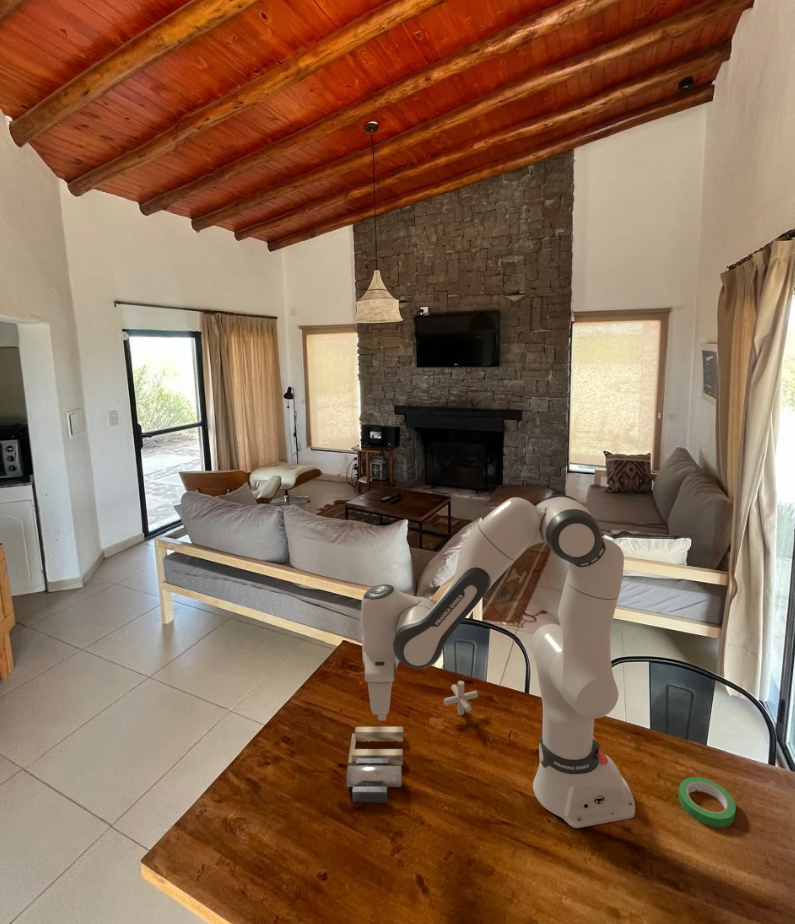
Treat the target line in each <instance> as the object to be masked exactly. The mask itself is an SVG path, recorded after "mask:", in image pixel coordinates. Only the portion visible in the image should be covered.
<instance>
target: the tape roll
mask: <svg viewBox="0 0 795 924" xmlns="http://www.w3.org/2000/svg"><path fill="white" fill-rule="evenodd" d="M694 792H700V793H701V792H702V793H705V794H708V795H710V796H713V798H715V799H716V800H718V801H719V803H720V804H721V805H722V806H723V808H724V809H723V810H722V811H711V810H708V809H706V808H703V807H701V806H699V805H698V804H697V803H696V802H695V801H693V800H692V798H691V797H690V793H694ZM678 800H679V803H680V805H681V807H682V809H684V811H685V812H686V813H687V814H688V815H690V816H691V818H693V819H694V820H696V821H698V822H699V823H701V824H704V825H706V826H709V827H713V828H725V827H729V826H731V825H732V824H733V823H734V821H735V817H736V810H737V806H736V802H735V800H734V799H733V796H731V794H730V793H729V792H728V791H727V790H726V789H725V788H724V787H722V786H721V785H720V784H718V783H716V782H714V781H712V780H710V779H707V778H704V777H697V776H693V777H691V776H690V777H688V778H685V779H683V780H682V781H681V782H680V785H679V790H678Z"/></svg>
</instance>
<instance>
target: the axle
mask: <svg viewBox="0 0 795 924" xmlns="http://www.w3.org/2000/svg"><path fill="white" fill-rule="evenodd" d="M346 769H347V770H346V787H347V788H348V787H350V788H353V786H387V788H401V787H402V765H389V766H356V765H347V768H346Z"/></svg>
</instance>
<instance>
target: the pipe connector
mask: <svg viewBox="0 0 795 924" xmlns="http://www.w3.org/2000/svg"><path fill="white" fill-rule="evenodd" d="M450 689H451V691H452V693H453V694H454V695H453V696H450V697H445V698H443V703H444V705H445V706H449V705H453V704H457V714H458V715H459V716H463V715H464V714H465V711H466V712H467V713H468V712H471V710H472V706H471V704H470V703H469V700H472V699H475V698H478V697H479V693H478V691H477V690H473V691H469V692H465V682H464V681H463V680H458V681H457V684H455V683H454V684H452V685H451V687H450Z"/></svg>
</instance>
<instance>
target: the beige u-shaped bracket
mask: <svg viewBox="0 0 795 924" xmlns="http://www.w3.org/2000/svg"><path fill="white" fill-rule="evenodd" d="M367 741H368V742H371V741H373V742H374V741H375V742H382V743H383V742H388V743H389V742H393V743H394V741H397V743H398V742H404V726H356V727H355V728H354V733H352V734H351V740H350V748H349V753H348V760H347V766H356V761H357V758H389V766H403V765H404V754H403V753H404V749H402V748H381V749H380V748H376V749H375V748H373V749H372V748H369V749H368V748H365V749H364V748H356V745H357V742H359V743H360V742H367ZM373 742H371V743H373Z"/></svg>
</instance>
